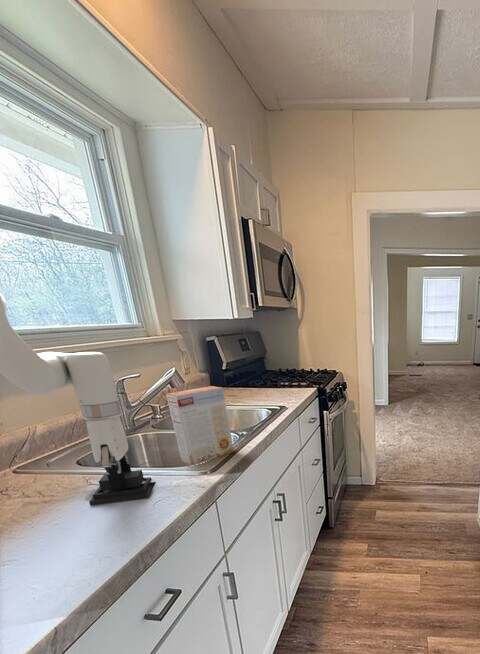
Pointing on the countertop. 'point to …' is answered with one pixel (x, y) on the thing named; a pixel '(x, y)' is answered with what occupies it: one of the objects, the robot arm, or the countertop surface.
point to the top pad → (131, 478)
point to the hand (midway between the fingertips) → (122, 483)
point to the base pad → (123, 493)
